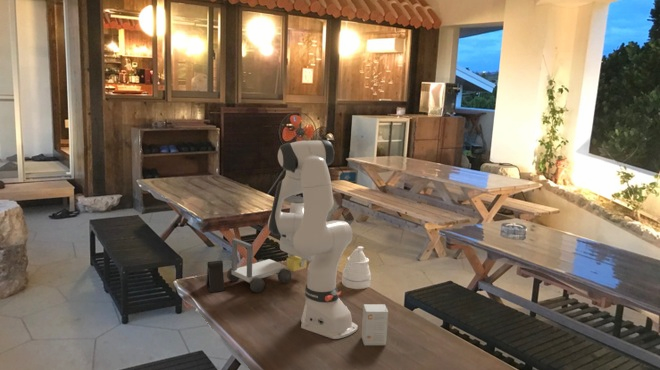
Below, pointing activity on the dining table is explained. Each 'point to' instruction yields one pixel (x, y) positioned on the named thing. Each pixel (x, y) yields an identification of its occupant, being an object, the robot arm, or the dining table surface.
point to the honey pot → (356, 270)
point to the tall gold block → (295, 263)
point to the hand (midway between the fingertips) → (296, 264)
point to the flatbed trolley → (255, 268)
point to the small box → (374, 324)
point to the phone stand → (215, 276)
